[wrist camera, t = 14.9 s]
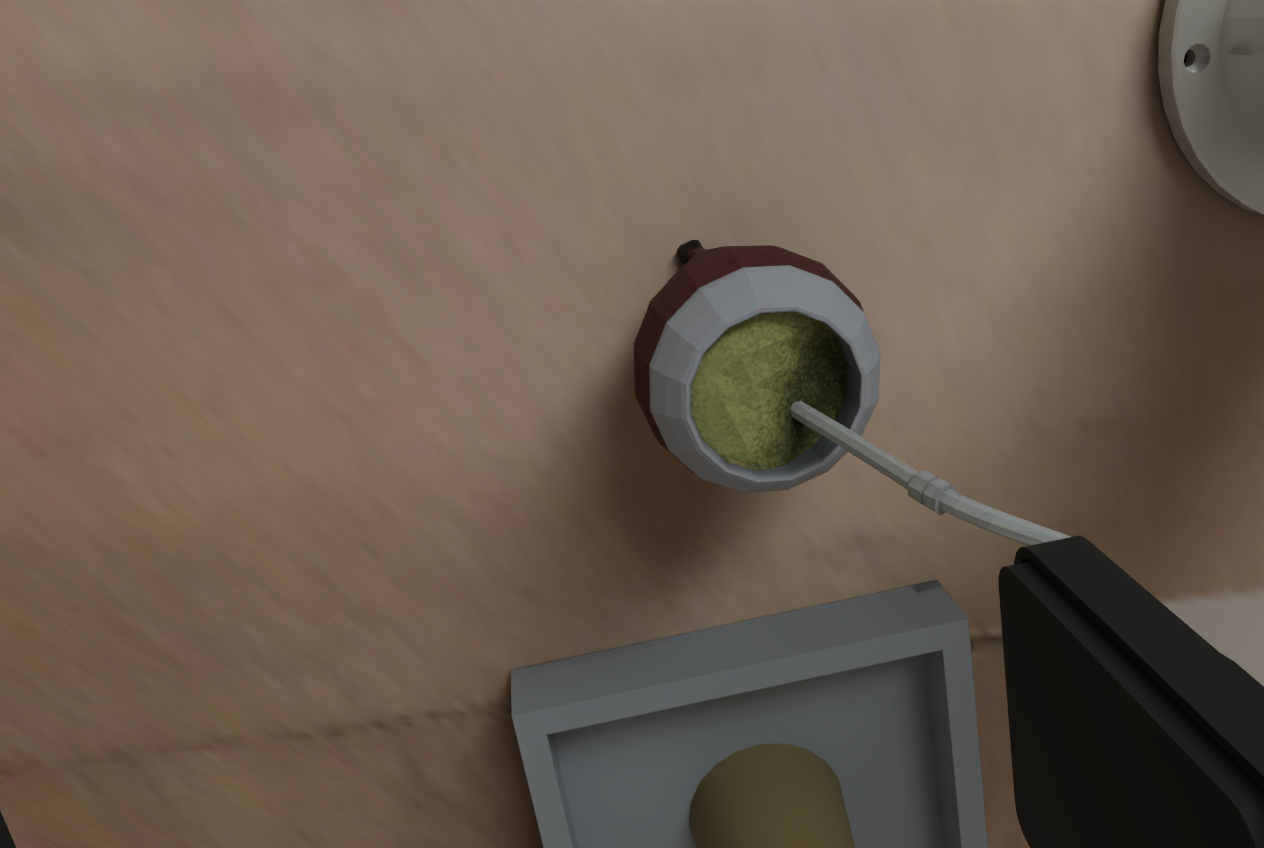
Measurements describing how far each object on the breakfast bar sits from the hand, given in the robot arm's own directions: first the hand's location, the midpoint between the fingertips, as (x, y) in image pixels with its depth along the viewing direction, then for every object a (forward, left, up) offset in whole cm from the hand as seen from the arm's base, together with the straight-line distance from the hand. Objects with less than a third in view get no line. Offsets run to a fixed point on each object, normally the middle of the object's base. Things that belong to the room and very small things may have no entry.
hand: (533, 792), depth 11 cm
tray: (-5, +23, -28) cm, 37 cm away
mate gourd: (-7, +4, -28) cm, 30 cm away
